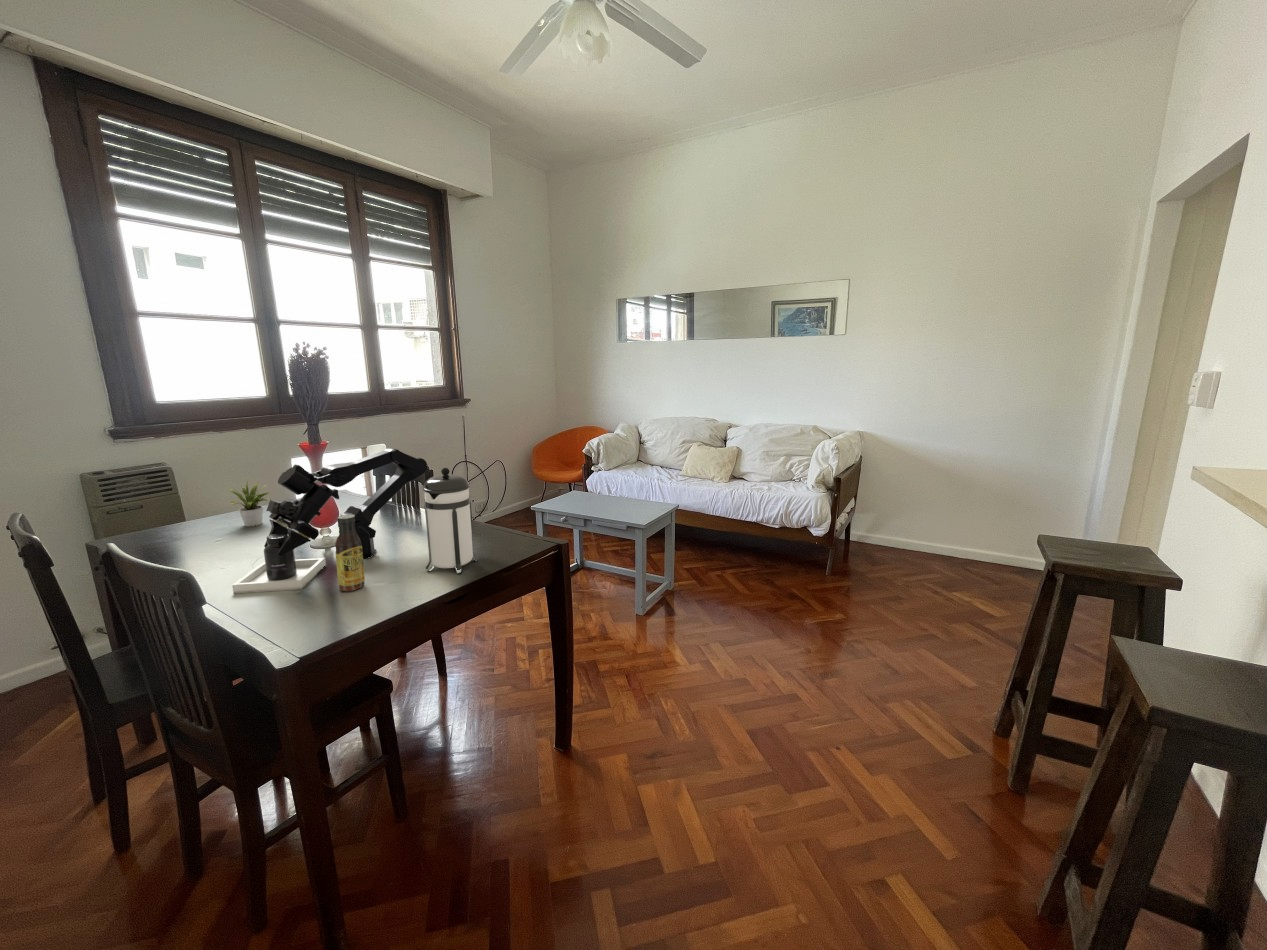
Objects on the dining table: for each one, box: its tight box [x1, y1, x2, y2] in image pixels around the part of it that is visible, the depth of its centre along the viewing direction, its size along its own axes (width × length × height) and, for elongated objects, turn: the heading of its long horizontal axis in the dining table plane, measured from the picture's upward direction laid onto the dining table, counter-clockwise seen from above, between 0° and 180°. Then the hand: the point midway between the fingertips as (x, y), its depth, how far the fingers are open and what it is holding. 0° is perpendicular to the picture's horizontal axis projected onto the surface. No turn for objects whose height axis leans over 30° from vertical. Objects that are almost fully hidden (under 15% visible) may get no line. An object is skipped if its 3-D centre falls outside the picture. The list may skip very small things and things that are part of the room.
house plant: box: [227, 480, 272, 527], centre depth 182 cm, size 14×14×16 cm
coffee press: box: [421, 467, 477, 570], centre depth 147 cm, size 17×16×30 cm
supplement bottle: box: [263, 533, 297, 581], centre depth 138 cm, size 7×7×12 cm
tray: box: [231, 557, 327, 595], centre depth 139 cm, size 16×16×2 cm
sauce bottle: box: [334, 515, 366, 592], centre depth 132 cm, size 6×6×20 cm
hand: (272, 551), depth 136 cm, fingers open, 9 cm apart
